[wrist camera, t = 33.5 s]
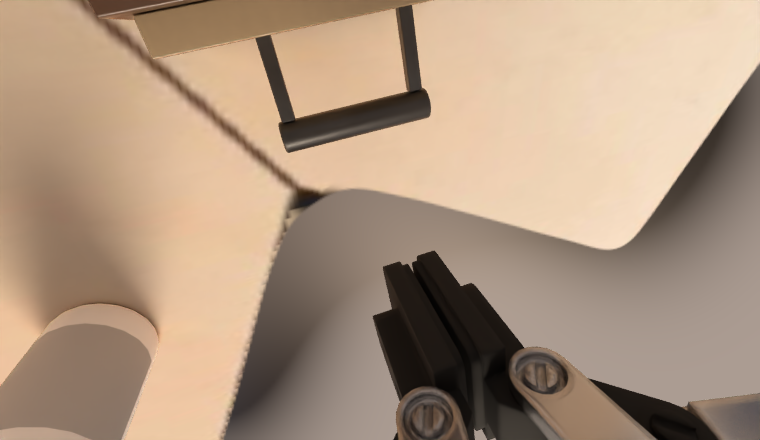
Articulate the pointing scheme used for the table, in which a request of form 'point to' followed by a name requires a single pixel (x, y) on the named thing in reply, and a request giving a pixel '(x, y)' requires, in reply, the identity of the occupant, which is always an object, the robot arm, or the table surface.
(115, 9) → the cabinet
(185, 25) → the drawer
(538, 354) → the robot arm
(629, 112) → the table surface
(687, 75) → the table surface
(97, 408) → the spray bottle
